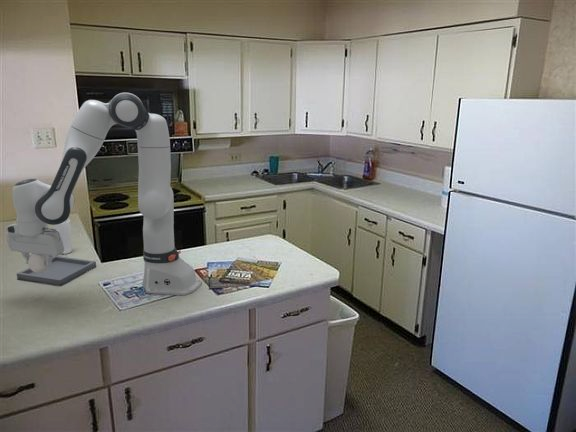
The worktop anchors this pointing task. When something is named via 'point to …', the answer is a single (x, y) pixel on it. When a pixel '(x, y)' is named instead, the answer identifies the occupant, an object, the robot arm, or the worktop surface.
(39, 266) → the egg
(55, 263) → the tray
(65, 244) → the drinking glass
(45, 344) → the worktop surface
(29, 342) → the worktop surface
